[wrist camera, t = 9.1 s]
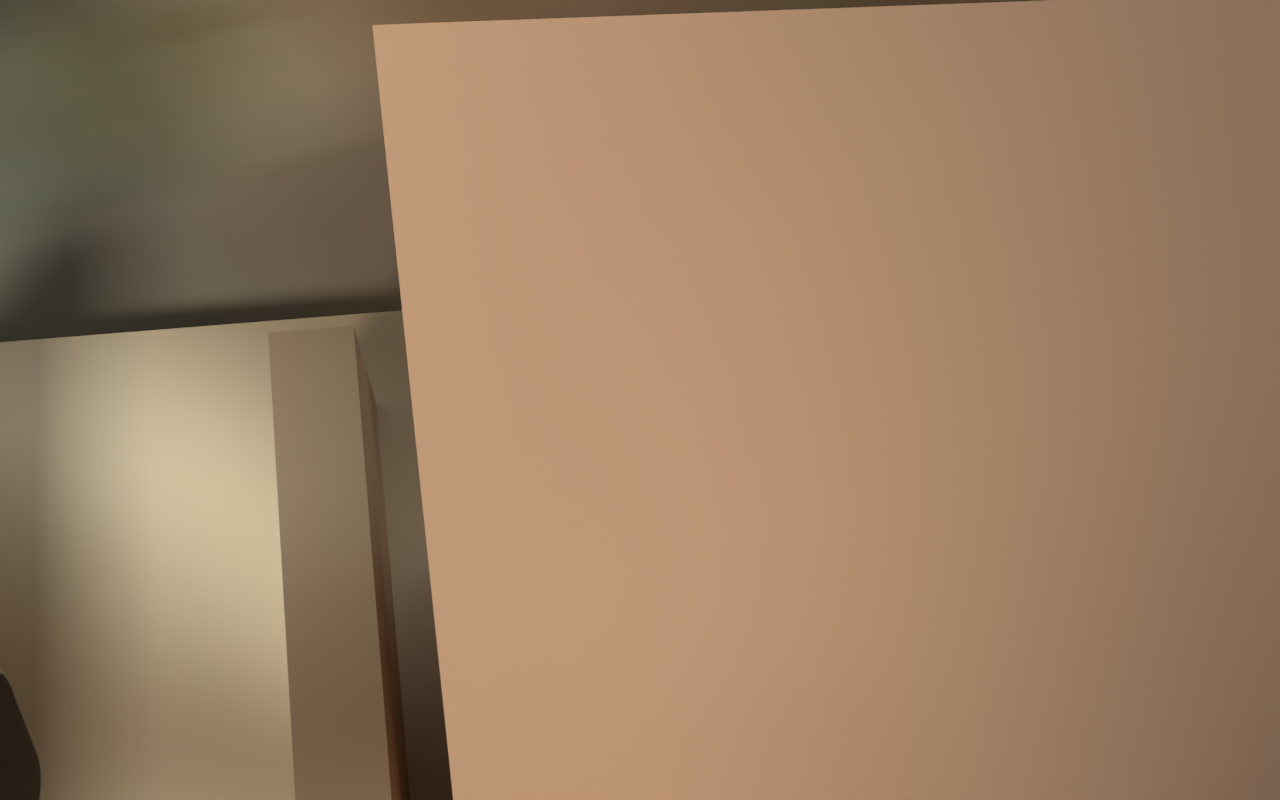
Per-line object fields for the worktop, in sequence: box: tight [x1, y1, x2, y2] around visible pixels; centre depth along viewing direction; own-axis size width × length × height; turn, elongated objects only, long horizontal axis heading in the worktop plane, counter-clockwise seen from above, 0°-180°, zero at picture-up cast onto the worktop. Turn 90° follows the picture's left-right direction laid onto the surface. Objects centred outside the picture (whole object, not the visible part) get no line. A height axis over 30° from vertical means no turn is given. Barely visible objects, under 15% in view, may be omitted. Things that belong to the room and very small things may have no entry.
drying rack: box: [0, 310, 453, 800], centre depth 13 cm, size 13×21×4 cm, turn 99°
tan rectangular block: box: [372, 0, 1280, 800], centre depth 9 cm, size 4×5×13 cm
